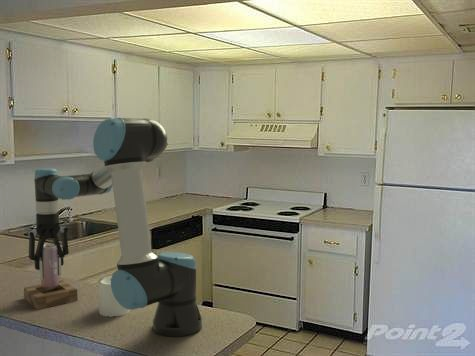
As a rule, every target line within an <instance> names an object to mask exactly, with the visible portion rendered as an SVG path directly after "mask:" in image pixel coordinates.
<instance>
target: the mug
mask: <svg viewBox="0 0 475 356" xmlns="http://www.w3.org/2000/svg"><path fill="white" fill-rule="evenodd" d="M111 278H112V275H109V276H105V277H101V278H100V279H99V280H98V282H97V283H98V285H97V287H98V313H99V314H101V315H100V316H102V315H103V317H107V316H109V318H111V317H112V318H114V317H113V316H116V317H122V316H124V315H125V316H126V315H127V314H129V313H130V312H131V310H128V309H126V308H124V307H122V306H121V305H120V304H119V303H118V302H117V300H116V299H115V297H114V295H113V292H112V289H111Z"/></svg>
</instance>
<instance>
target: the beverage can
mask: <svg viewBox="0 0 475 356" xmlns="http://www.w3.org/2000/svg"><path fill="white" fill-rule="evenodd" d="M58 256H59V255H58V248H57V245H54V243H46V244H45V243H44V246H43V250H42V253H41V257H40V260H42V272H43V279H40V285H41V287H42V288H43V289H53V288H56V287H58V285H59V281H60V278H59V277H60V276H59V273H58Z"/></svg>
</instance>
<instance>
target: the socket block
mask: <svg viewBox="0 0 475 356" xmlns="http://www.w3.org/2000/svg"><path fill="white" fill-rule="evenodd" d="M23 299H24V300H26V302H28V303H29V304H30V305H31V306H33V307H34V308H35V309H36V310H41V309H45V308H46V309H47V308H50V307H55V306H59V305H63V304H67V302H68V303H73V302H77V301H78V289H77V288H76V287H74V286H72V285H71V284H69V283H67V282H66V281H64V280H62V279H61V280H59V285H58V287H56V288H53V289H43V288H42V287H41V284H37V285H31V286H26V287H23Z"/></svg>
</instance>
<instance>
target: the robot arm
mask: <svg viewBox="0 0 475 356" xmlns="http://www.w3.org/2000/svg"><path fill="white" fill-rule="evenodd" d="M92 143H93V144H92V145H93V146H92V147H93V151H94V154H95V155H96V157H97V159H99V160H100V161H103V164H101V165H100V166H98V168H96V169H95V170H93V171H92V172H90V173H88V174H87V173H85V174H73V175H71V174H70V175H59V173H58V169H56V168H52V167H51V168H49V167H44V168H37V169H36V170H35V171H34V179H33V180H34V192H35V193H34V195H35V197H34V198H35V212H36V215H35V221H36V227H35V229H34V230H28V231H27V236H28V259H30V260H31V261H34V270H36V271H37V278H38V280H39V279H40V280H41V279H43V272H42V260H40V257H41V253H42V250H43V246H44V245H45V243H46V241H47V240H49V239H51V240H52V242H53V244H54V245H57V248H58V273H59V277H60V276H61V277H62V266H64V258H65V256H66V255H69V252H70V251H69V245H68V244H69V241H68V231H69V228H68V227H66V226H61V225H60V213H59V210H60V208H59V207H60V206H59V205H60V204H59V200H62V201H63V200H67V201H68V200H69V201H71V200H73V199H75V198H78V197H79V198H80V197H85V196H87V197H88V196H96V195H98V196H99V195H100V196H101V195H103V194H109V193H110V192H111V190H112V192H113V197H114V199H113V200H114V206H115V215H116V222H117V223H116V224H117V231H118V238H119V245H120V246H119V247H120V254H121V256H120V258H119V259H118V261H117V262H116V266H117V270H115V271H114V272H113V273H112V275H111V276H112V278H111V289H112V292H113V295H114V297H115V299H116V300H117V302H118V303H119V304H120V305H121V306H122V307H124V308H126V309H128V310H130V311H131V310H138V309H143V308H145V307H147V306H150V305H153V304H157V306H156V310H155V313H154V316H153V319H152V330H153V332H155V333H156V334H158V335H161V336H163V337H185V336H189V335H193V334H195V333H197V332H199V331H200V330H201V329H202V327H203V318H202V314H201V313H200V309H199V306H198V304H197V266H196V258H195V257H194V256H193V255H192V254H189V253H184V252H177V251H175V252H174V251H164V252H160V253H158V254H155V253H154V252H153V251H152V244H151V243H152V242H151V234H150V227H149V219H148V211H147V204H146V203H147V202H146V195H145V188H144V178H143V172H142V171H143V170H142V169H143V167H144V166H145V165H146V163H151V162H152V161H154V160H155V159H157V158H159V157H160V156H161V155H162V154H163V152H165V150H166V148H167V145H168V135H167V132H166V130H165V128H164V127H163V125H162V124H161V123H159V122H158V121H156V120H154V119H151V118H132V117H131V118H129V117H128V118H127V117H123V118H122V117H117V118H116V117H115V118H107V119H104V120H102V121H101V122H100V123H99V124H98V126H97V127H96V129H95V132H94V135H93V140H92ZM59 232H60V237H61V243H60V242H59V241H60V240H59V237H58V233H59ZM37 235H38V236H39V237H38V240H37V241H38V242H37V245H36V236H37ZM61 245H62V246H61Z"/></svg>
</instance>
